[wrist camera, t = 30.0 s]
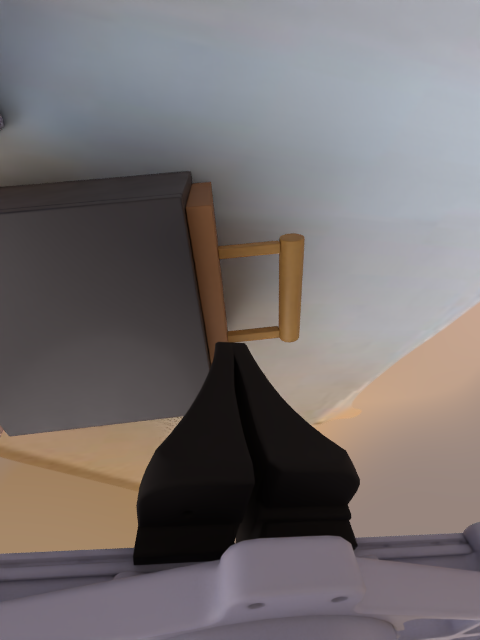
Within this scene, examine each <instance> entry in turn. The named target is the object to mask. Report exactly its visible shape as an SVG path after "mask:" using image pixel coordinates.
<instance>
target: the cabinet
mask: <svg viewBox="0 0 480 640" xmlns="http://www.w3.org/2000/svg"><path fill="white" fill-rule="evenodd" d="M191 185H192V177H191V171H183V172H171V173H159V174H148V175H136V176H125V177H113V178H102V179H90V180H78V181H67V182H55V183H44V184H32V185H20V186H9V187H0V426H1V427H2V428H3V429H4V431H5V432H6V433H7V434H8V435H9V436H18V435H26V434H35V433H43V432H52V431H60V430H69V429H77V428H86V427H95V426H103V425H112V424H120V423H129V422H137V421H146V420H154V419H163V418H172V417H180V416H185V414H186V413H187V411H188V410H189V408H190V407H191V405H192V404H193V402H194V400H195V399H196V397H197V395H198V393H199V392H200V390H201V388H202V386H203V384H204V382H205V379H206V377H207V375H208V373H209V370H210V367H211V363H210V356H209V350H208V344H207V338H206V332H205V326H204V320H203V314H202V308H201V302H200V296H199V289H198V283H197V277H196V271H195V265H194V259H193V253H192V247H191V241H190V235H189V229H188V222H187V216H186V210H185V207H186V203H187V200H188V196H189V192H190V189H191Z"/></svg>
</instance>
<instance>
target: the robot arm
mask: <svg viewBox="0 0 480 640" xmlns="http://www.w3.org/2000/svg"><path fill="white" fill-rule="evenodd" d="M3 124H4V123H3V119H2V117H1V115H0V130H1V129H2V128H3ZM359 485H360V479H359V477H358V474H357V472H356V469H355V467H354V465H353V463H352V461H351V459H350V457H349V456H348V454H347V452H346V450H344V449H343V448H341V447H340V446H338V445H337V444H335V443H334V442H332V441H331V440H329V439H328V438H327V437H325V436H324V435H322V434H321V433H320V432H319V431H317V430H316V429H315V428H314V427H312V426H311V425H310V424H309V423H308V422H306V421H305V420H304V419H303V418H302V417H301V416H300V415H299V414H298V413H296V412H295V411H294V410H293V409H292V408H291V407H290V406H289V405H288V404H287V403H286V401H285V400H284V399H283V398H282V397H281V396H280V395H279V393H278V392H277V391H276V390H275V389H274V387H273V386H272V385H271V383H270V382H269V381H268V379H267V378H266V377H265V375H264V374H263V372H262V371H261V369H260V368H259V366H258V365H257V363H256V361H255V360H254V358H253V356H252V355H251V353H250V351H249V349H248V347H247V345H246V344H245V343H233V342H217V343H215V351H214V358H213V362H212V365H211V367H210V370H209V373H208V375H207V377H206V379H205V382H204V384H203V386H202V388H201V390H200V392H199V393H198V395H197V397H196V399H195V400H194V402H193V404H192V405H191V407H190V408H189V410H188V411H187V413H186V414H185V416H184V417H183V418H182V420H181V421H180V422H179V424H178V425H177V426H176V427H175V429H174V430H173V431H172V432H171V434H170V435H169V436H168V437H167V438H166V439H165V440H164V441H163V443H162V444H161V445H160V446H159V447H158V448H157V449H156V451H155V453H154V455H153V456H152V458H151V460H150V462H149V464H148V466H147V468H146V471H145V473H144V475H143V478H142V481H141V484H140V488H139V493H138V500H137V516H138V517H137V518H138V530H137V537H136V542H135V547H134V548H119V549H97V550H75V551H53V552H33V553H32V552H31V553H9V554H0V640H480V522H478V523H475V524H472V525H470V526H469V527H467V528H466V529H465V530H464V532H463V533H454V534H432V535H431V534H430V535H408V536H386V537H364V538H355V536H354V533H353V530H352V528H351V525H350V522H349V520H350V519H351V513H350V510H349V507H348V503H349V502H350V500H351V499H352V498H353V496H354V495H355V493H356V491H357V490H358V487H359ZM235 538H236V543H234V541H235Z"/></svg>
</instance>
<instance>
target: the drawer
mask: <svg viewBox="0 0 480 640" xmlns="http://www.w3.org/2000/svg"><path fill="white" fill-rule="evenodd" d="M185 210H186V216H187V222H188V229H189V235H190V241H191V247H192V253H193V259H194V265H195V271H196V277H197V283H198V289H199V296H200V302H201V308H202V314H203V320H204V326H205V332H206V338H207V344H208V350H209V356H210V363H211V365H212V362H213V358H214V351H215V343H217V342H242V341H251V340H261V339H270V338H280V339H281V340H282V341H284V342H294V341H296V340H297V339H298V338H299V329H300V312H301V294H302V276H303V259H304V241H305V238H304V236H303V235H300V234H295V233H291V234H285V235H282V236H280V238H279V241H278V240H277V241H267V242H257V243H246V244H236V245H225V246H218V240H217V231H216V222H215V213H214V204H213V195H212V186H211V182H204V183H192V185H191V189H190V192H189V196H188V200H187V203H186V207H185ZM278 253H279V328H278V326H274V327H264V328H255V329H246V330H236V331H228V330H227V321H226V312H225V303H224V294H223V285H222V276H221V267H220V259H227V258H237V257H247V256H258V255H268V254H278Z"/></svg>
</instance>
